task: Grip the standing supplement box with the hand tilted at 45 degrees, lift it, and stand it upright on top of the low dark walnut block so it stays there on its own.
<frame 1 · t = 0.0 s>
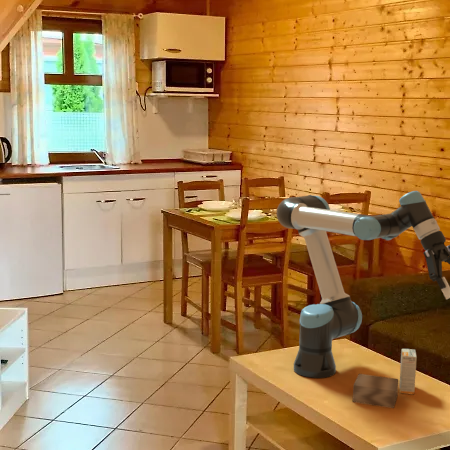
walnut block: (375, 399, 232), on the table
supplement box: (406, 390, 241), on the table
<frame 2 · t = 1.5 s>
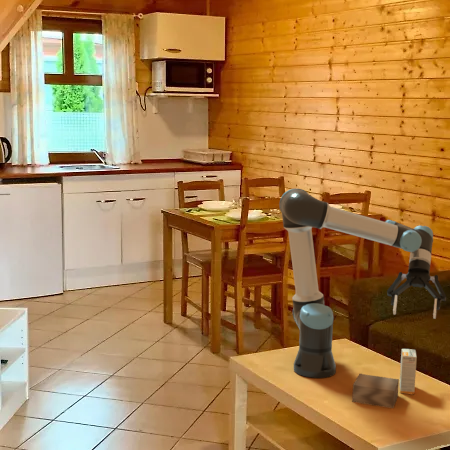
hand: (414, 314, 248), 23 cm above the table, tool tilted 45°, fingers open, 13 cm apart
nothing on the table moved.
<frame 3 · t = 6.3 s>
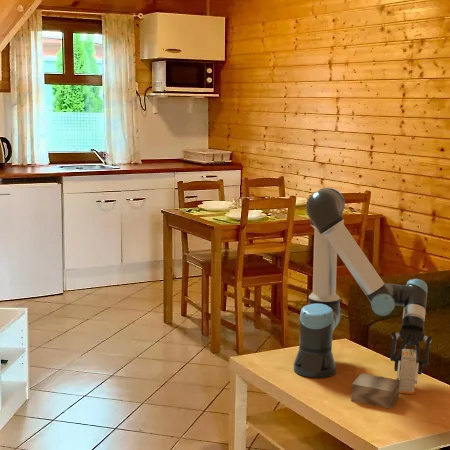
hand: (406, 381, 237), 4 cm above the table, tool tilted 45°, fingers closed on supplement box, 5 cm apart
supplement box: (406, 389, 241), on the table, touching gripper
everything else where it was.
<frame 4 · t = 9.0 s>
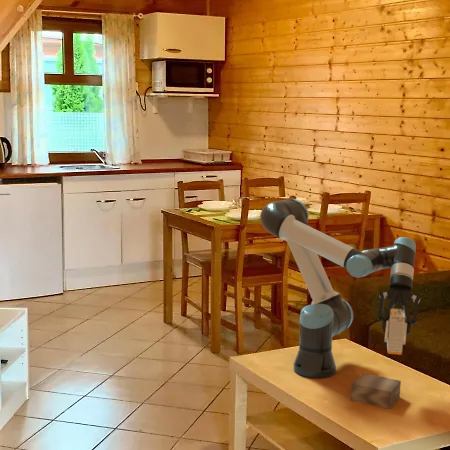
hand: (394, 341, 229), 20 cm above the table, tool tilted 45°, fingers closed on supplement box, 5 cm apart
supplement box: (394, 350, 234), point 15 cm above the table, touching gripper
everything else where it was.
when the fingers open (12 cm above the table, at t = 11.7 s): supplement box drops 2 cm, resting on walnut block.
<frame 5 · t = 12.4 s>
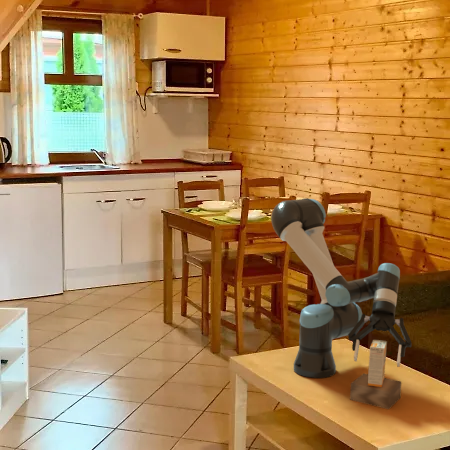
hand: (376, 362, 228), 13 cm above the table, tool tilted 45°, fingers open, 13 cm apart
walnut block: (375, 399, 232), on the table, touching supplement box
supplement box: (376, 382, 231), point 5 cm above the table, touching walnut block
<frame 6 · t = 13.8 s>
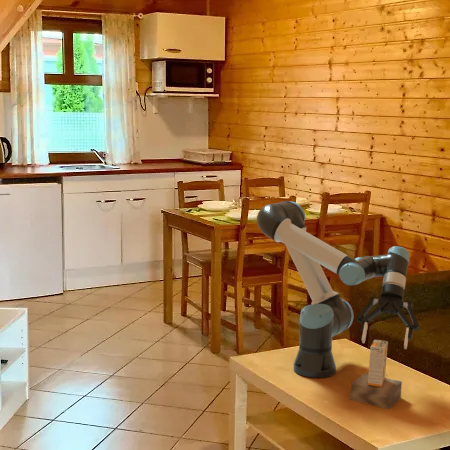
hand: (383, 344, 232), 18 cm above the table, tool tilted 45°, fingers open, 13 cm apart
nothing on the table moved.
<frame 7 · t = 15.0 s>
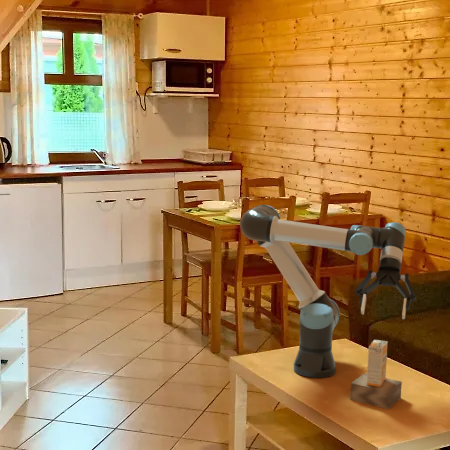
hand: (382, 314, 238), 25 cm above the table, tool tilted 45°, fingers open, 13 cm apart
nothing on the table moved.
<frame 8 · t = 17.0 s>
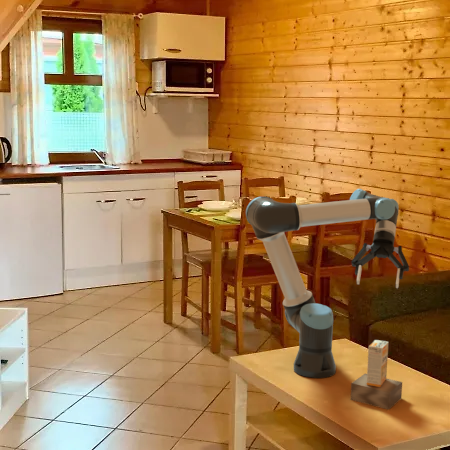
hand: (377, 284, 251), 33 cm above the table, tool tilted 45°, fingers open, 13 cm apart
nothing on the table moved.
at the end: supplement box inside the target area on the walnut block (0.1 cm from its centre), point 5.9 cm above the walnut block's base; supplement box tilted 1°; the gripper is holding nothing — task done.
